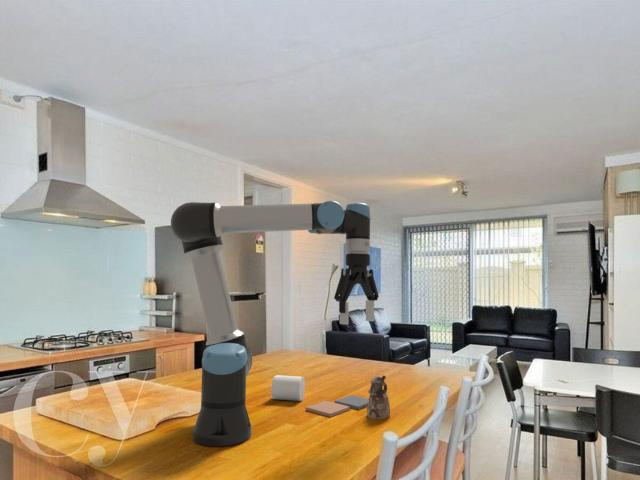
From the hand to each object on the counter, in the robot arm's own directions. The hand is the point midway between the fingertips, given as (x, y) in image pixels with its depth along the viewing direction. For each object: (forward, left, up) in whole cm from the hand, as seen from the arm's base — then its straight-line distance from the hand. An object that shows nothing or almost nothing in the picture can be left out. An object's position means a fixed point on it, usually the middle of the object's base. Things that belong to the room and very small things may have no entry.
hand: (357, 322), depth 136 cm
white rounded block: (+3, +31, -29) cm, 42 cm away
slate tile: (+13, +10, -29) cm, 33 cm away
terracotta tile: (+1, +12, -29) cm, 31 cm away
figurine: (+7, -3, -29) cm, 30 cm away
